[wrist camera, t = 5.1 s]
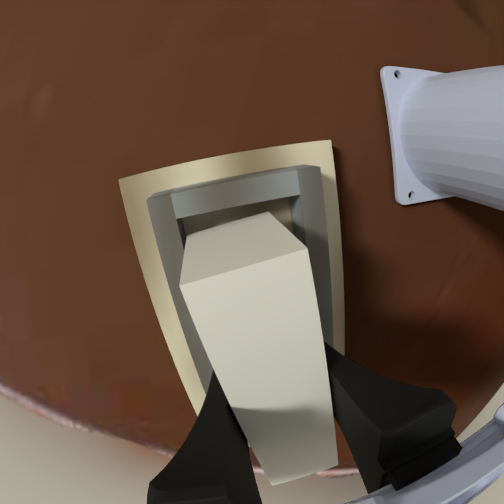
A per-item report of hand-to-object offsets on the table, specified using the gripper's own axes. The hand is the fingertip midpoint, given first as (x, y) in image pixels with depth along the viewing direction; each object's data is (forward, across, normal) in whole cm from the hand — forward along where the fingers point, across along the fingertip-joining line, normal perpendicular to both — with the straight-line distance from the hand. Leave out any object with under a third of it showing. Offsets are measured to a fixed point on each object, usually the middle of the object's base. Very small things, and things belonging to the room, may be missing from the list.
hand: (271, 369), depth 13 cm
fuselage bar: (+2, 0, 0) cm, 2 cm away
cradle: (+4, 0, 0) cm, 4 cm away
